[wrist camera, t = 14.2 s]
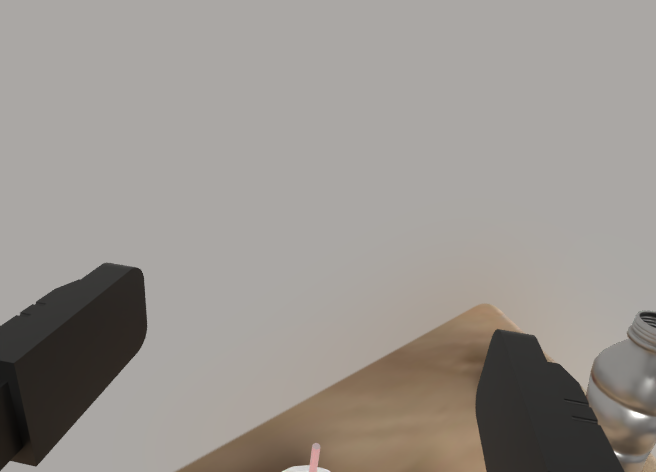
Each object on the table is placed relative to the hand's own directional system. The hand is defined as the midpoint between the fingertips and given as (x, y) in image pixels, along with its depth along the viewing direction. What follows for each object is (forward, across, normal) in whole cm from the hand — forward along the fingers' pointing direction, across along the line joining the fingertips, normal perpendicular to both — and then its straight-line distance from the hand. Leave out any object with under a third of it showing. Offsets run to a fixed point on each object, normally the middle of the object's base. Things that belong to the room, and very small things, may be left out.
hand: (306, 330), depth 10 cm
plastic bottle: (+24, -23, +31) cm, 46 cm away
